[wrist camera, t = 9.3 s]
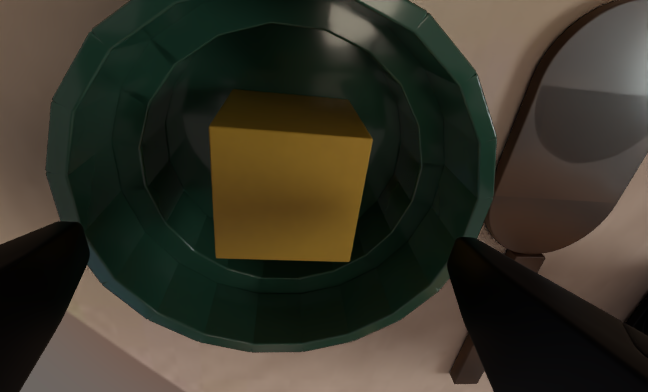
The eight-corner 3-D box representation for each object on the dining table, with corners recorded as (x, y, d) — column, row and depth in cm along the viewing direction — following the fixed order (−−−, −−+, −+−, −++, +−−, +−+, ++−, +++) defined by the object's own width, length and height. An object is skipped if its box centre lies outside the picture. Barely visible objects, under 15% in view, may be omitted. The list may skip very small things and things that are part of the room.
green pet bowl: (394, 259, 18) (431, 351, 13) (155, 252, 16) (101, 354, 12) (464, 1, 12) (574, 0, 8) (107, -49, 11) (-39, -90, 6)
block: (334, 198, 15) (349, 262, 11) (234, 192, 15) (215, 259, 11) (349, 99, 13) (373, 138, 9) (232, 88, 13) (208, 126, 9)
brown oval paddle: (504, 372, 24) (510, 383, 24) (415, 373, 23) (419, 385, 23) (719, 8, 13) (743, 9, 13) (567, -15, 12) (583, -16, 12)
